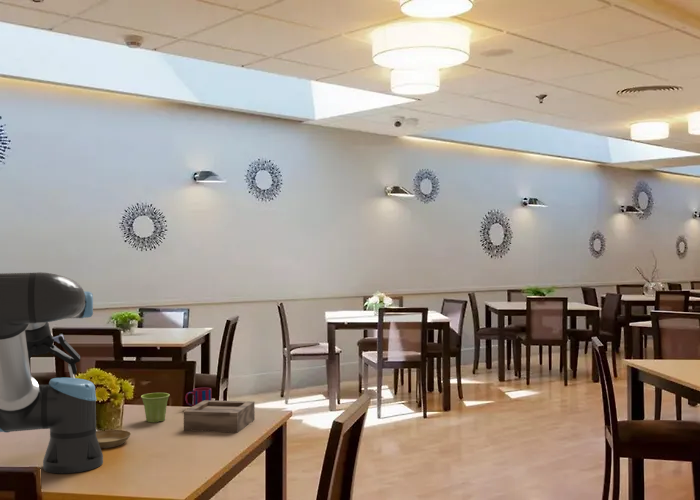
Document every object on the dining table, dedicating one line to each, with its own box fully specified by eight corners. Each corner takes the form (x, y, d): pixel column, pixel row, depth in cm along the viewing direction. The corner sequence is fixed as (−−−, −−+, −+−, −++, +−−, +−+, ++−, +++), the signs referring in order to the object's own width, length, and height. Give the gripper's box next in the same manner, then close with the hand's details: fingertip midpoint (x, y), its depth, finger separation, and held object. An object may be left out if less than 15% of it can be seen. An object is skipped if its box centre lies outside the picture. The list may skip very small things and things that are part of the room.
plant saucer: (116, 451, 214) (116, 442, 214) (69, 449, 216) (69, 440, 216) (139, 439, 228) (139, 430, 228) (95, 437, 231) (95, 428, 231)
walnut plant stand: (237, 432, 234) (237, 412, 234) (183, 430, 237) (183, 411, 238) (254, 419, 252) (254, 401, 252) (204, 418, 255) (204, 400, 255)
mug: (214, 408, 272) (214, 389, 272) (188, 411, 267) (188, 392, 267) (207, 404, 278) (207, 386, 278) (181, 408, 272) (181, 389, 272)
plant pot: (165, 423, 247) (165, 397, 247) (137, 424, 247) (137, 398, 247) (172, 417, 257) (172, 392, 257) (145, 417, 257) (145, 392, 257)
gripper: (79, 311, 223) (93, 374, 230) (-10, 328, 217) (8, 392, 223) (78, 320, 216) (93, 384, 223) (-14, 338, 210) (5, 404, 217)
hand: (50, 388), depth 223 cm, fingers open, 13 cm apart
